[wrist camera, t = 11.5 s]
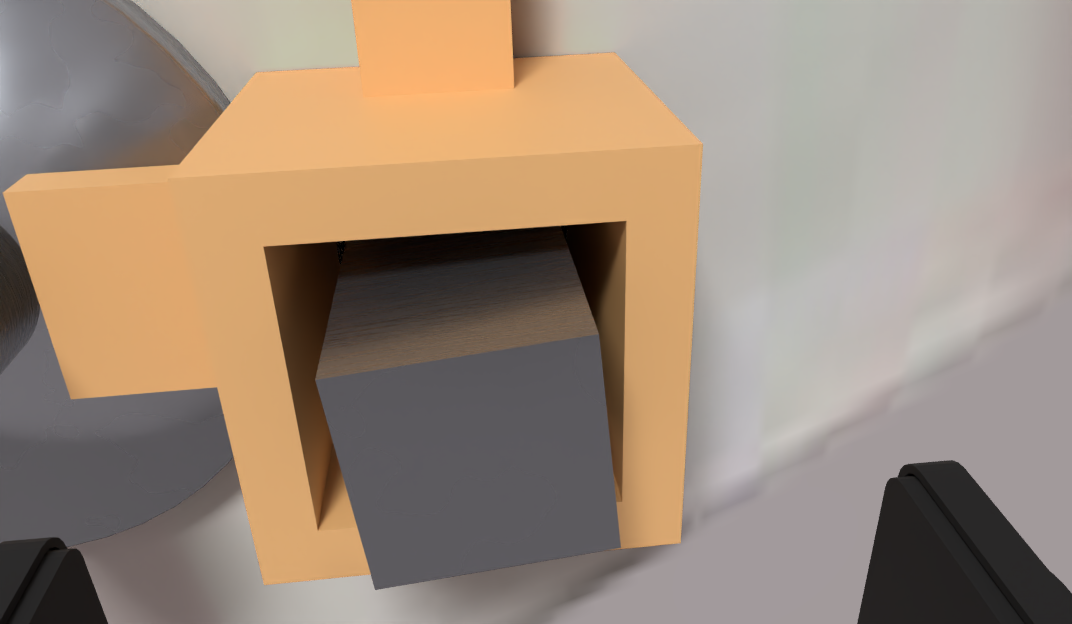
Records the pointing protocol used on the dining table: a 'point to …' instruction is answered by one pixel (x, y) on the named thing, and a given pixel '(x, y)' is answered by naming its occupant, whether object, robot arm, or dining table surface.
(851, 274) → the dining table surface
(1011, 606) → the robot arm
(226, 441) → the metal disc with post
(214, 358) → the bracket
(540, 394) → the grey long block
